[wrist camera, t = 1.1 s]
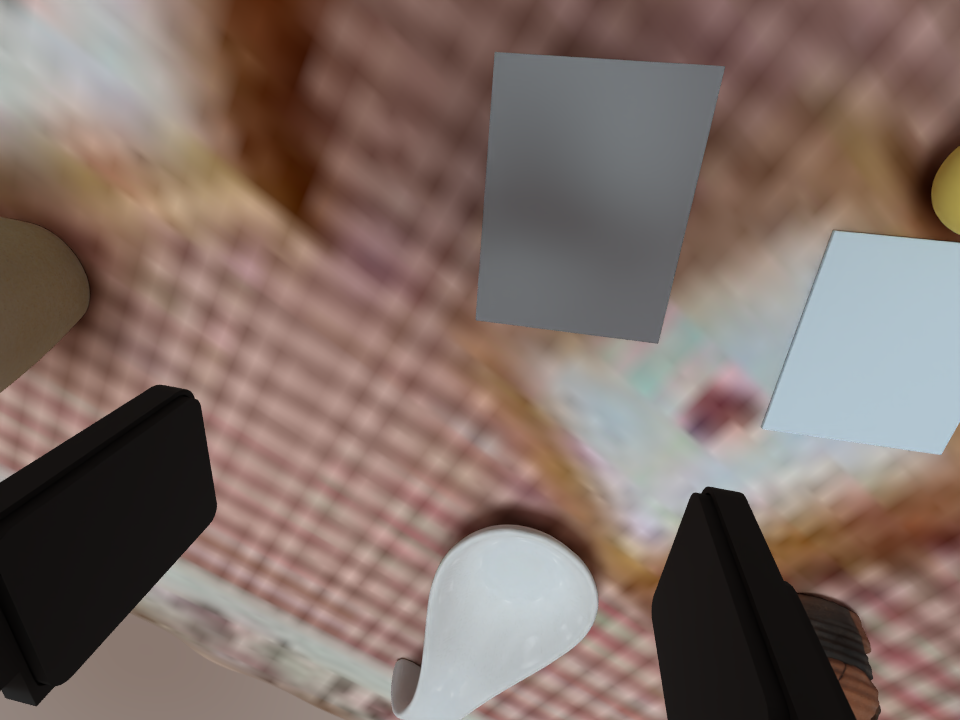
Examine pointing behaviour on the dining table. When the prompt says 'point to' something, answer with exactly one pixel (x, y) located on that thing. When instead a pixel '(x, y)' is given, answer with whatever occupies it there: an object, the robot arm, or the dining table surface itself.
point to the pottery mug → (845, 653)
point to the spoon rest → (494, 620)
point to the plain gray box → (590, 190)
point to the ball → (948, 192)
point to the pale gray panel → (876, 346)
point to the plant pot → (35, 295)
